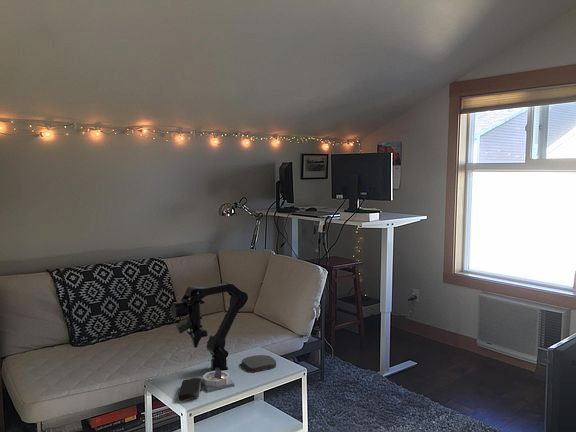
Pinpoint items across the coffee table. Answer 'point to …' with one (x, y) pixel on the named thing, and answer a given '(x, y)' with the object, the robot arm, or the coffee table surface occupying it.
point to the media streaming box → (258, 363)
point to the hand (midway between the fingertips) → (195, 347)
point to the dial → (216, 375)
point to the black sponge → (190, 389)
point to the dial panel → (216, 382)
